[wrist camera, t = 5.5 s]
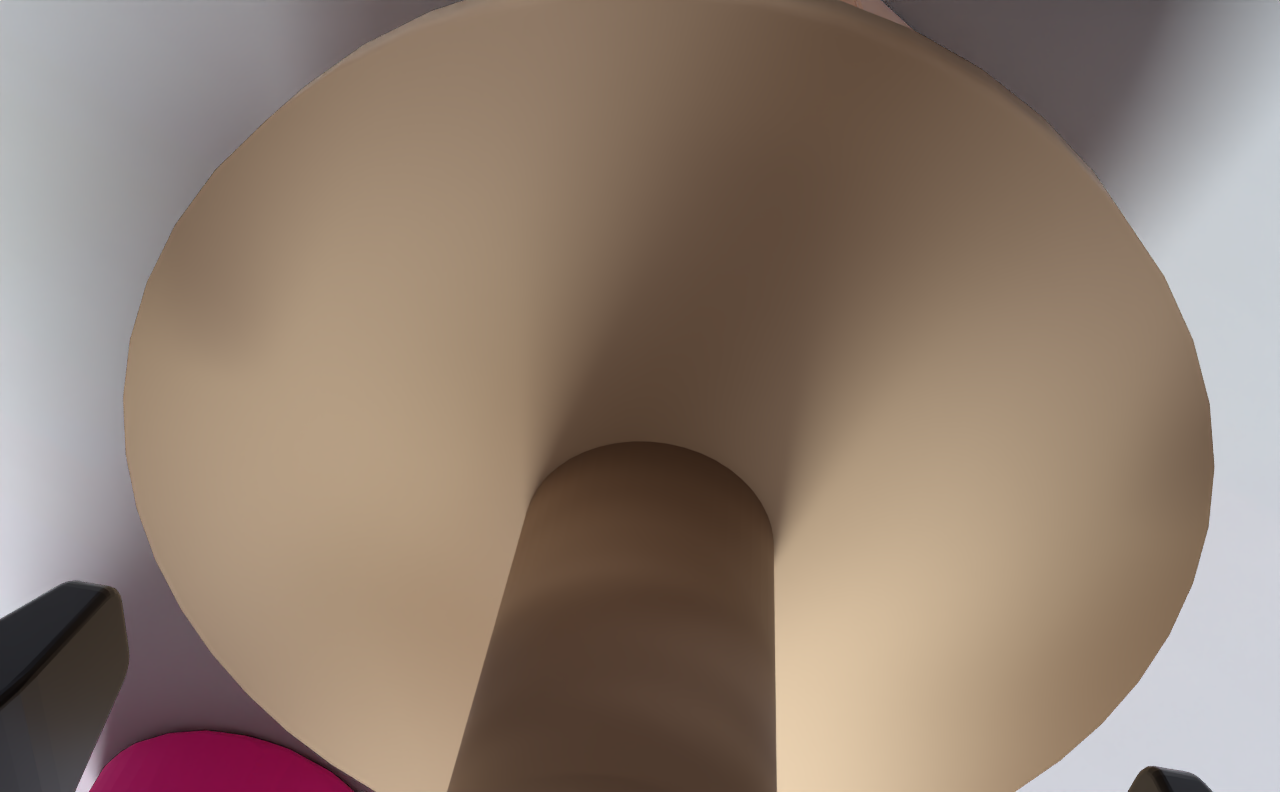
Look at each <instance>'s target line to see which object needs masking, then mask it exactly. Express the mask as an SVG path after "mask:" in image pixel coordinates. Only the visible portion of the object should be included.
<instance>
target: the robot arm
mask: <svg viewBox="0 0 1280 792" xmlns="http://www.w3.org/2000/svg"><path fill="white" fill-rule="evenodd" d="M128 664H129V647H128V640H127V633H126V626H125V619H124V612H123V606H122V600H121V596H120V594H119V593H118V591H117V590H116V589H115V588H112V587H110V586H105V585H99V584H94V583H88V582H82V581H68V582H65V583H63V584H60V585H58V586H57V587H55V588H53V589H51V590H50V591H48V592H46V593H45V594H43V595H41V596H39V597H38V598H36V599H34V600H32V601H31V602H29V603H27V604H25V605H24V606H22V607H20V608H18V609H17V610H15V611H13V612H12V613H10V614H8V615H6V616H5V617H3V618H1V619H0V792H75V791H76V788H77V786H78V784H79V781H80V779H81V777H82V775H83V772H84V770H85V768H86V766H87V763H88V761H89V759H90V757H91V754H92V752H93V750H94V748H95V745H96V743H97V741H98V739H99V736H100V734H101V732H102V729H103V727H104V725H105V723H106V720H107V718H108V716H109V714H110V711H111V709H112V707H113V705H114V702H115V700H116V698H117V696H118V693H119V691H120V689H121V686H122V684H123V682H124V679H125V676H126V673H127V669H128ZM1128 792H1212V790H1211V789H1210V788H1209V787H1208V786H1207V785H1206V784H1205V783H1204V782H1203V781H1202V780H1201V779H1200V778H1198V777H1197V776H1196V775H1194V774H1192V773H1189V772H1185V771H1179V770H1174V769H1168V768H1162V767H1156V766H1148V767H1146V768H1144V769H1143V770H1141V771H1140V772H1139V774H1138V775H1137V777H1136V778H1135V780H1134V782H1133V783H1132V785H1131V787H1130V789H1129V790H1128Z"/></svg>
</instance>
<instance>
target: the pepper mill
mask: <svg viewBox="0 0 1280 792" xmlns="http://www.w3.org/2000/svg"><path fill="white" fill-rule="evenodd" d="M89 792H354V791H353V790H352V789H351V788H350V787H349V786H348V785H346V784H345V783H344V782H343V781H342V780H341V779H339V778H338V777H337V776H336V775H335V774H333V773H332V772H330V771H329V770H327V769H325V768H323V767H321V766H320V765H318V764H316V763H314V762H312V761H311V760H309V759H307V758H305V757H303V756H301V755H300V754H298V753H296V752H294V751H292V750H290V749H288V748H285V747H282V746H279V745H276V744H273V743H270V742H267V741H264V740H260V739H256V738H253V737H249V736H244V735H237V734H231V733H224V732H216V731H206V730H204V731H190V732H176V733H167V734H164V735H161V736H157V737H154V738H151V739H148V740H144V741H141V742H138V743H135V744H133V745H132V746H130V747H128V748H126V749H125V750H123V751H121V752H120V753H119V754H118V755H117V756H115V757H114V758H113V759H112V760H111V761H110V762H109V763H108V764H107V765H106V766H105V767H104V768H103V770H102V771H101V773H100V775H99V776H98V778H97V780H96V781H95V783H94V784H93V786H92V788H91V789H90V791H89Z"/></svg>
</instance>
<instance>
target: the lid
mask: <svg viewBox="0 0 1280 792" xmlns="http://www.w3.org/2000/svg"><path fill="white" fill-rule="evenodd" d="M123 406H124V428H125V450H126V458H127V463H128V468H129V473H130V478H131V483H132V488H133V492H134V497H135V502H136V507H137V511H138V513H139V516H140V519H141V522H142V524H143V527H144V530H145V533H146V536H147V538H148V541H149V544H150V547H151V549H152V552H153V555H154V558H155V560H156V562H157V564H158V566H159V568H160V570H161V572H162V574H163V576H164V578H165V580H166V582H167V584H168V585H169V587H170V589H171V591H172V593H173V595H174V597H175V599H176V601H177V603H178V605H179V607H180V608H181V610H182V611H183V613H184V614H185V616H186V617H187V619H188V620H189V622H190V623H191V624H192V626H193V627H194V629H195V630H196V632H197V633H198V635H199V636H200V638H201V639H202V640H203V642H204V643H205V645H206V646H207V648H208V649H209V651H210V652H211V653H212V655H213V656H214V657H215V658H216V659H217V660H218V661H219V663H220V664H221V665H222V666H223V667H224V668H225V669H226V671H227V672H228V673H229V674H230V675H231V676H232V677H233V679H234V680H235V681H236V682H237V683H238V684H239V685H240V687H241V688H242V689H243V690H244V691H245V692H246V693H247V695H248V696H250V697H251V698H252V699H253V700H254V701H255V702H256V703H257V704H258V705H259V706H260V707H262V708H263V709H264V710H265V711H266V712H267V713H268V714H269V715H270V716H271V717H272V718H273V719H275V720H276V721H277V722H278V723H279V724H280V725H281V726H282V727H283V728H284V729H285V730H286V731H288V732H289V733H290V734H291V735H293V736H294V737H295V738H297V739H298V740H299V741H301V742H302V743H303V744H305V745H306V746H307V747H309V748H310V749H311V750H313V751H314V752H315V753H317V754H318V755H319V756H321V757H322V758H323V759H325V760H326V761H327V762H329V763H330V764H331V765H333V766H335V767H336V768H338V769H340V770H341V771H343V772H344V773H346V774H348V775H349V776H351V777H353V778H354V779H356V780H357V781H359V782H361V783H362V784H364V785H366V786H367V787H369V788H370V789H372V790H374V791H375V792H1015V791H1017V790H1018V789H1020V788H1021V787H1023V786H1024V785H1025V784H1027V783H1028V782H1030V781H1031V780H1033V779H1034V778H1036V777H1037V776H1039V775H1040V774H1041V773H1043V772H1044V771H1046V770H1047V769H1049V768H1050V767H1052V766H1053V765H1054V764H1056V763H1057V762H1059V761H1060V760H1061V759H1062V758H1064V757H1065V756H1066V755H1067V754H1068V753H1069V752H1070V751H1072V750H1073V749H1074V748H1075V747H1076V746H1077V745H1078V744H1079V743H1081V742H1082V741H1083V740H1084V739H1085V738H1086V737H1087V736H1089V735H1090V734H1091V733H1092V732H1093V731H1094V730H1095V729H1097V728H1098V727H1099V726H1100V725H1101V724H1102V723H1103V722H1104V721H1105V720H1106V718H1107V717H1108V716H1109V715H1110V714H1111V713H1112V712H1113V710H1114V709H1115V708H1116V707H1117V706H1118V705H1119V704H1120V702H1121V701H1122V700H1123V699H1124V698H1125V697H1126V696H1127V694H1128V693H1129V692H1130V691H1131V690H1132V689H1133V688H1134V687H1135V685H1136V684H1137V683H1138V682H1139V680H1140V679H1141V677H1142V676H1143V674H1144V673H1145V671H1146V670H1147V668H1148V667H1149V665H1150V664H1151V662H1152V661H1153V659H1154V657H1155V656H1156V654H1157V653H1158V651H1159V650H1160V648H1161V647H1162V645H1163V644H1164V642H1165V641H1166V639H1167V638H1168V636H1169V634H1170V632H1171V630H1172V628H1173V626H1174V624H1175V621H1176V619H1177V617H1178V615H1179V613H1180V610H1181V608H1182V606H1183V604H1184V602H1185V599H1186V597H1187V595H1188V593H1189V591H1190V589H1191V586H1192V584H1193V581H1194V578H1195V574H1196V570H1197V567H1198V563H1199V559H1200V556H1201V552H1202V549H1203V545H1204V541H1205V538H1206V534H1207V530H1208V527H1209V516H1210V506H1211V496H1212V486H1213V476H1214V455H1213V442H1212V429H1211V416H1210V404H1209V400H1208V396H1207V392H1206V388H1205V384H1204V380H1203V377H1202V373H1201V369H1200V365H1199V361H1198V357H1197V353H1196V349H1195V345H1194V342H1193V339H1192V337H1191V334H1190V332H1189V330H1188V328H1187V326H1186V323H1185V321H1184V319H1183V317H1182V314H1181V312H1180V310H1179V308H1178V306H1177V303H1176V301H1175V299H1174V297H1173V295H1172V292H1171V290H1170V288H1169V286H1168V284H1167V281H1166V279H1165V277H1164V275H1163V274H1162V272H1161V271H1160V269H1159V268H1158V266H1157V265H1156V263H1155V262H1154V260H1153V259H1152V257H1151V256H1150V255H1149V253H1148V252H1147V250H1146V249H1145V247H1144V246H1143V244H1142V243H1141V241H1140V240H1139V238H1138V237H1137V235H1136V234H1135V232H1134V231H1133V229H1132V228H1131V226H1130V225H1129V223H1128V222H1127V220H1126V219H1125V217H1124V216H1123V214H1122V213H1121V211H1120V210H1119V209H1118V207H1117V206H1116V204H1115V203H1114V201H1113V200H1112V198H1111V197H1110V195H1109V194H1108V192H1107V191H1106V189H1105V188H1104V186H1103V185H1102V183H1101V182H1100V181H1099V179H1098V178H1097V176H1096V175H1095V173H1094V172H1093V170H1092V169H1091V168H1090V167H1089V166H1088V165H1087V164H1086V163H1085V162H1084V161H1083V160H1082V159H1081V158H1080V156H1079V155H1078V154H1077V153H1076V152H1075V151H1074V150H1073V149H1072V148H1071V147H1070V146H1069V145H1068V144H1067V143H1066V141H1065V140H1064V139H1063V138H1062V137H1061V136H1060V135H1059V134H1058V133H1057V132H1056V131H1055V130H1054V129H1053V128H1052V126H1051V125H1050V124H1049V123H1048V122H1047V121H1046V120H1045V119H1044V118H1043V117H1042V116H1041V115H1039V114H1038V113H1037V112H1036V111H1034V110H1033V109H1032V108H1031V107H1029V106H1028V105H1027V104H1025V103H1024V102H1023V101H1022V100H1020V99H1019V98H1018V97H1017V96H1015V95H1014V94H1013V93H1012V92H1010V91H1009V90H1008V89H1006V88H1005V87H1004V86H1003V85H1001V84H1000V83H999V82H998V81H996V80H995V79H994V78H993V77H991V76H990V75H989V74H987V73H986V72H985V71H984V70H982V69H981V68H979V67H977V66H976V65H974V64H972V63H970V62H969V61H967V60H965V59H963V58H962V57H960V56H958V55H956V54H955V53H953V52H951V51H949V50H948V49H946V48H944V47H942V46H941V45H939V44H937V43H935V42H934V41H932V40H930V39H928V38H927V37H925V36H923V35H922V34H920V33H918V32H916V31H915V30H913V29H911V28H908V27H906V26H903V25H900V24H898V23H895V22H893V21H890V20H888V19H885V18H883V17H880V16H878V15H875V14H873V13H870V12H868V11H865V10H863V9H860V8H858V7H855V6H853V5H850V4H848V3H845V2H843V1H840V0H463V1H460V2H457V3H454V4H451V5H448V6H445V7H442V8H439V9H436V10H432V11H430V12H428V13H426V14H424V15H422V16H420V17H418V18H416V19H414V20H412V21H410V22H408V23H406V24H404V25H402V26H400V27H398V28H396V29H394V30H392V31H390V32H388V33H386V34H384V35H382V36H380V37H378V38H376V39H374V40H372V41H370V42H368V43H366V44H364V45H362V46H361V47H360V48H358V49H357V50H355V51H354V52H352V53H351V54H350V55H348V56H347V57H345V58H344V59H343V60H341V61H340V62H338V63H337V64H335V65H334V66H333V67H331V68H330V69H328V70H327V71H326V72H324V73H323V74H321V75H320V76H319V77H317V78H316V79H314V80H313V81H311V82H310V83H309V84H307V85H306V86H305V87H303V88H302V89H301V90H300V91H299V92H298V93H297V94H296V95H294V96H293V97H292V98H291V99H290V100H289V101H288V102H286V103H285V104H284V105H283V106H282V107H281V108H280V109H279V110H277V111H276V112H275V113H274V114H273V115H272V116H271V117H269V118H268V119H267V120H266V121H265V122H264V123H263V124H262V125H261V126H260V127H259V128H258V129H257V130H256V131H255V132H254V133H253V134H252V135H251V136H250V137H249V138H248V139H247V140H246V141H245V142H244V143H242V144H241V145H240V146H239V147H238V148H237V149H236V150H235V151H234V152H233V153H232V154H231V155H230V156H229V157H228V158H227V159H226V160H225V161H224V162H223V163H222V164H221V165H220V166H219V167H218V168H217V169H216V170H215V171H214V172H213V174H212V175H211V176H210V178H209V179H208V181H207V182H206V183H205V185H204V186H203V187H202V189H201V190H200V192H199V193H198V194H197V196H196V197H195V198H194V200H193V201H192V202H191V204H190V205H189V207H188V208H187V209H186V211H185V212H184V213H183V215H182V216H181V218H180V219H179V220H178V222H177V223H176V224H175V226H174V228H173V230H172V232H171V234H170V236H169V238H168V240H167V242H166V244H165V246H164V249H163V251H162V253H161V255H160V257H159V259H158V261H157V263H156V265H155V267H154V269H153V271H152V273H151V275H150V277H149V279H148V281H147V284H146V287H145V290H144V294H143V297H142V301H141V304H140V307H139V311H138V314H137V318H136V321H135V324H134V328H133V331H132V335H131V338H130V343H129V352H128V360H127V369H126V377H125V386H124V394H123Z"/></svg>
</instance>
